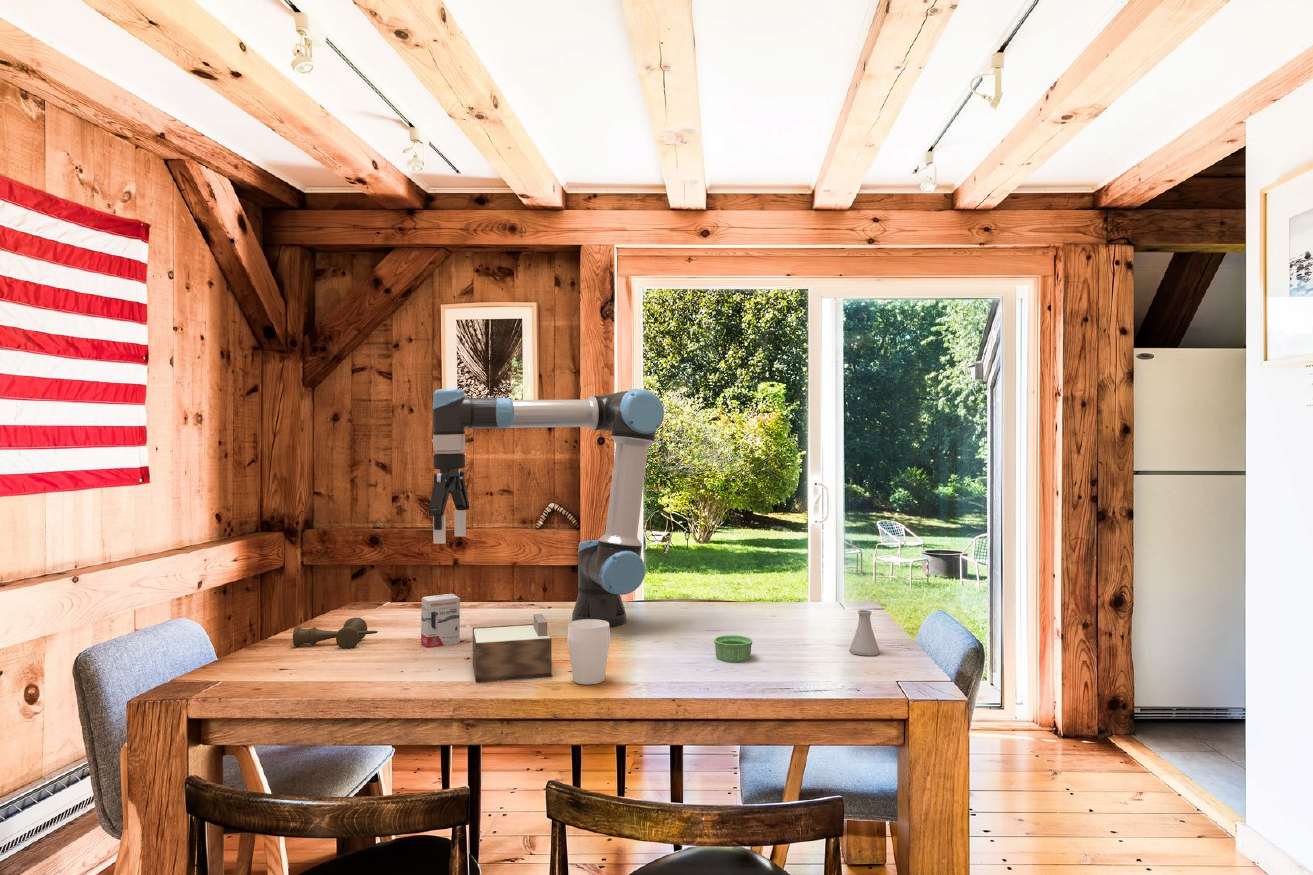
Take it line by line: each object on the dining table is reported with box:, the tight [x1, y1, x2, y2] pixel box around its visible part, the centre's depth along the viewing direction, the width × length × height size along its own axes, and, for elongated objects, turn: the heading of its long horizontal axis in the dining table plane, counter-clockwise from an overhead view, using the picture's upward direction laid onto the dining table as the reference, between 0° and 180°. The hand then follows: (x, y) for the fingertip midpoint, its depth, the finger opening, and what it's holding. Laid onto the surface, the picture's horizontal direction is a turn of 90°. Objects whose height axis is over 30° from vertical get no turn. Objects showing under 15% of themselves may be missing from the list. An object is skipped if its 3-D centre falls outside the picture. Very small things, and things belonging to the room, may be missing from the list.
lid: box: [474, 613, 551, 643], centre depth 180 cm, size 16×13×4 cm
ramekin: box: [713, 634, 753, 663], centre depth 190 cm, size 9×9×4 cm
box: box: [472, 623, 553, 683], centre depth 180 cm, size 16×15×8 cm
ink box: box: [420, 593, 461, 649], centre depth 203 cm, size 8×5×12 cm, turn 123°
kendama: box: [292, 617, 379, 650], centre depth 202 cm, size 6×10×20 cm
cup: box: [566, 619, 611, 686], centre depth 172 cm, size 9×9×12 cm
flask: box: [849, 609, 881, 657], centre depth 194 cm, size 7×7×10 cm
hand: (450, 540), depth 197 cm, fingers open, 13 cm apart
